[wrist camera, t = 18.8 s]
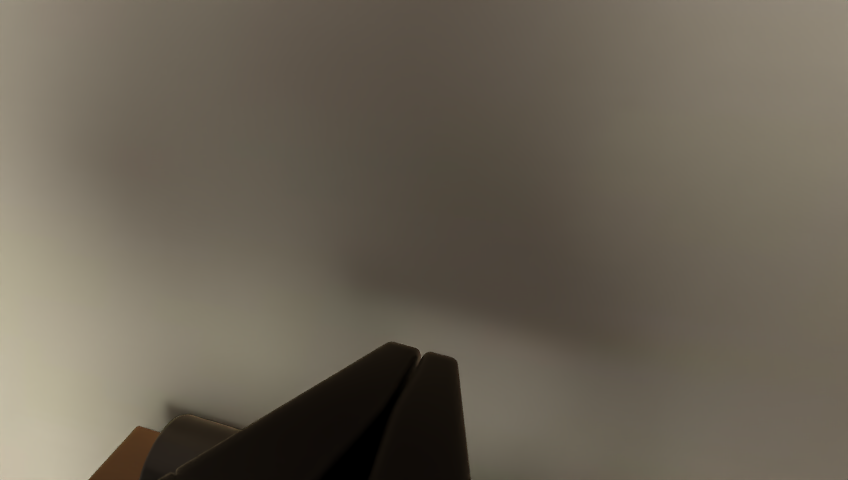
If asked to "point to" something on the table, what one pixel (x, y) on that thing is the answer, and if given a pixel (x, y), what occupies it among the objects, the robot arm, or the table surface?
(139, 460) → the drawer
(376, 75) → the table surface
